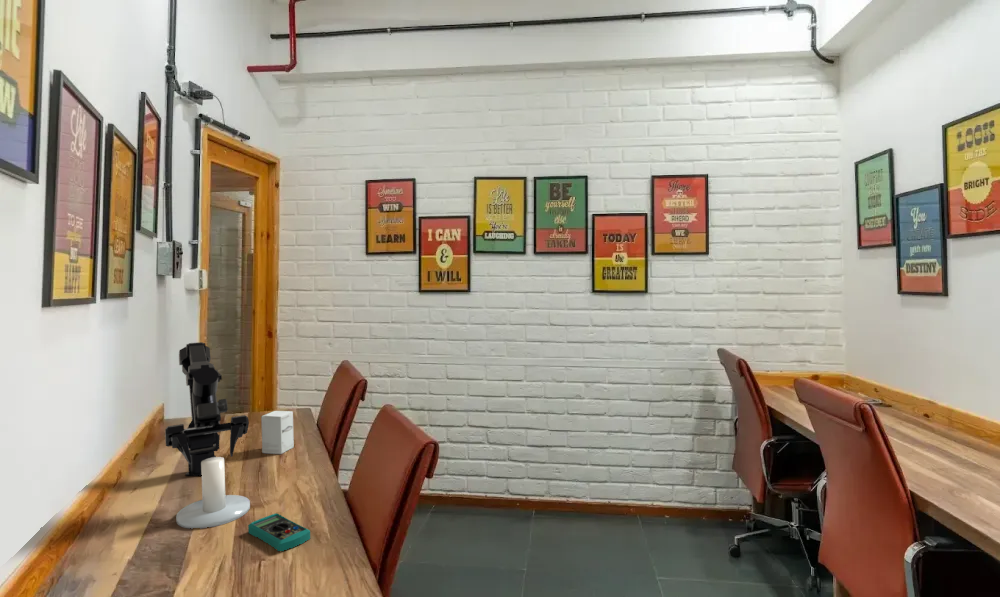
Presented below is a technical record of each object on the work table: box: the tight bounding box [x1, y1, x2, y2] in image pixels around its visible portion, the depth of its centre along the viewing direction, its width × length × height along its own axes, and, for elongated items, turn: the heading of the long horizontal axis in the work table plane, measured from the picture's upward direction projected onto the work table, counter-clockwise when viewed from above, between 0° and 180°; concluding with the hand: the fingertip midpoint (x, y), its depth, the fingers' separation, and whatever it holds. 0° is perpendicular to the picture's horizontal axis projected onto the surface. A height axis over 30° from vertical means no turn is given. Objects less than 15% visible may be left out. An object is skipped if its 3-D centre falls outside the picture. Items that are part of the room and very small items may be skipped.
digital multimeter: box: [247, 512, 311, 552], centre depth 118 cm, size 7×15×3 cm, turn 52°
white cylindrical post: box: [201, 456, 226, 513], centre depth 130 cm, size 5×5×12 cm
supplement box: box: [260, 410, 295, 455], centre depth 177 cm, size 7×7×13 cm
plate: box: [175, 494, 251, 530], centre depth 131 cm, size 16×16×1 cm
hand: (211, 459), depth 132 cm, fingers open, 9 cm apart
